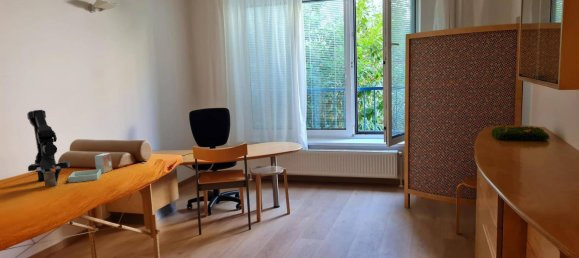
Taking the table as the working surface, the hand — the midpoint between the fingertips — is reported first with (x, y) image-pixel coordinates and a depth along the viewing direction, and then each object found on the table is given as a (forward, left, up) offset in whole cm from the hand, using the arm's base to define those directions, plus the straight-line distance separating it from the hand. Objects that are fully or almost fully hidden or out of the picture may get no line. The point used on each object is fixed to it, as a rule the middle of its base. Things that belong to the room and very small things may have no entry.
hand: (51, 181), depth 226 cm
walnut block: (0, 0, -2) cm, 2 cm away
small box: (+23, +24, -2) cm, 33 cm away
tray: (+15, +9, -2) cm, 18 cm away
